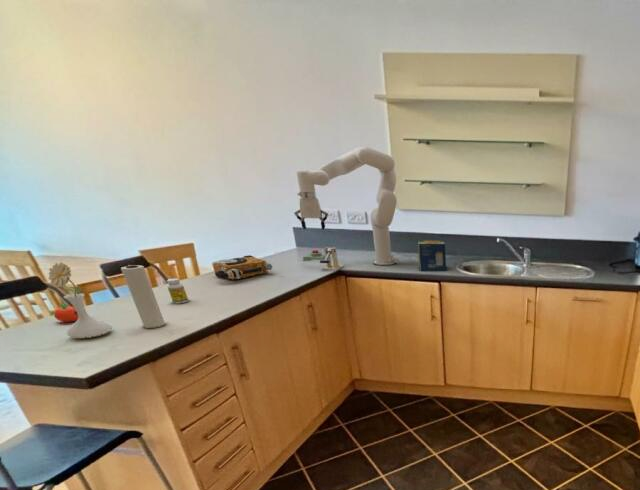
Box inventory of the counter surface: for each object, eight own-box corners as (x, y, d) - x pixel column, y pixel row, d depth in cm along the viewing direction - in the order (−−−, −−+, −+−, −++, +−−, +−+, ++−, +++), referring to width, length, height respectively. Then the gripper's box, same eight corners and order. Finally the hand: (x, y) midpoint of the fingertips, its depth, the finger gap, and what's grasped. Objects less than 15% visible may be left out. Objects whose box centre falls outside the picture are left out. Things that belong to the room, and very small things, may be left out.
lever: (329, 264, 230) (328, 261, 228) (320, 264, 230) (319, 260, 228) (336, 251, 237) (334, 247, 235) (327, 251, 237) (325, 247, 235)
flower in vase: (64, 336, 140) (26, 260, 129) (107, 327, 149) (76, 255, 137) (77, 345, 134) (38, 267, 123) (121, 335, 143) (89, 261, 131)
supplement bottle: (189, 299, 180) (182, 277, 176) (187, 303, 176) (179, 280, 171) (174, 300, 178) (166, 278, 174) (171, 304, 174) (163, 281, 169)
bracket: (336, 271, 235) (333, 249, 230) (322, 270, 235) (318, 249, 230) (343, 267, 244) (340, 246, 239) (329, 266, 244) (326, 246, 239)
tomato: (82, 316, 158) (74, 299, 155) (86, 321, 153) (78, 304, 150) (56, 320, 153) (47, 303, 150) (59, 325, 148) (51, 308, 145)
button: (319, 252, 261) (319, 250, 260) (317, 254, 258) (316, 251, 257) (314, 252, 261) (313, 249, 260) (311, 253, 258) (311, 250, 257)
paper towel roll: (161, 327, 150) (138, 268, 140) (141, 329, 148) (116, 268, 138) (169, 321, 156) (148, 263, 146) (150, 322, 154) (127, 264, 144)
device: (278, 258, 221) (221, 268, 197) (282, 274, 225) (226, 285, 201) (252, 253, 230) (194, 262, 207) (256, 268, 234) (199, 278, 210)
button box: (329, 258, 265) (328, 251, 264) (322, 261, 257) (321, 254, 255) (310, 257, 265) (309, 250, 264) (303, 260, 257) (302, 253, 255)
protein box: (419, 267, 251) (417, 240, 244) (444, 266, 255) (443, 240, 248) (420, 271, 242) (418, 243, 235) (446, 270, 246) (445, 243, 239)
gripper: (289, 195, 218) (295, 229, 226) (323, 196, 221) (329, 230, 229) (293, 194, 224) (299, 227, 232) (326, 195, 227) (331, 228, 235)
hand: (314, 229), depth 231 cm, fingers open, 9 cm apart
